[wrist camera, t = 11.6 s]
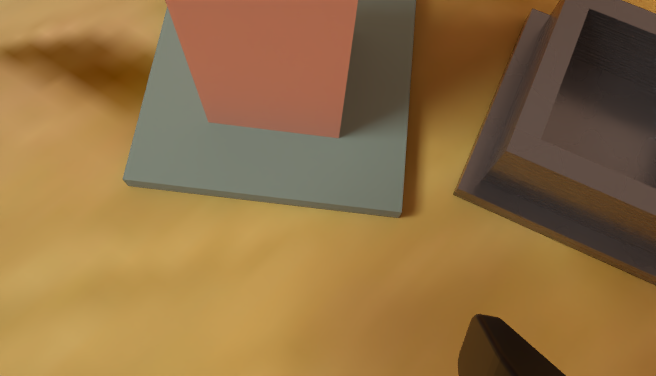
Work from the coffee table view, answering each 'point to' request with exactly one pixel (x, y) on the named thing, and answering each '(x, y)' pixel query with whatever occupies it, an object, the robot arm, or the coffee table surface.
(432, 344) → the coffee table surface
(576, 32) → the metal socket
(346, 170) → the green pad
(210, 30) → the terracotta peg
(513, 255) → the coffee table surface
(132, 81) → the coffee table surface
